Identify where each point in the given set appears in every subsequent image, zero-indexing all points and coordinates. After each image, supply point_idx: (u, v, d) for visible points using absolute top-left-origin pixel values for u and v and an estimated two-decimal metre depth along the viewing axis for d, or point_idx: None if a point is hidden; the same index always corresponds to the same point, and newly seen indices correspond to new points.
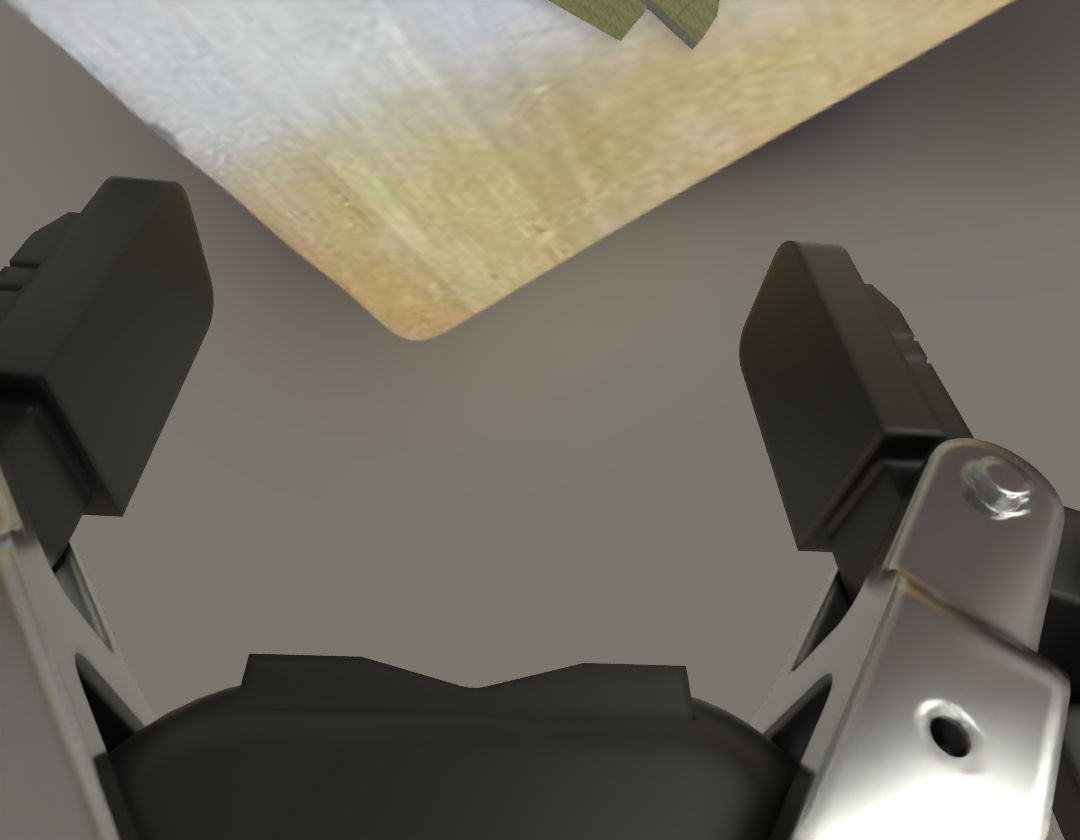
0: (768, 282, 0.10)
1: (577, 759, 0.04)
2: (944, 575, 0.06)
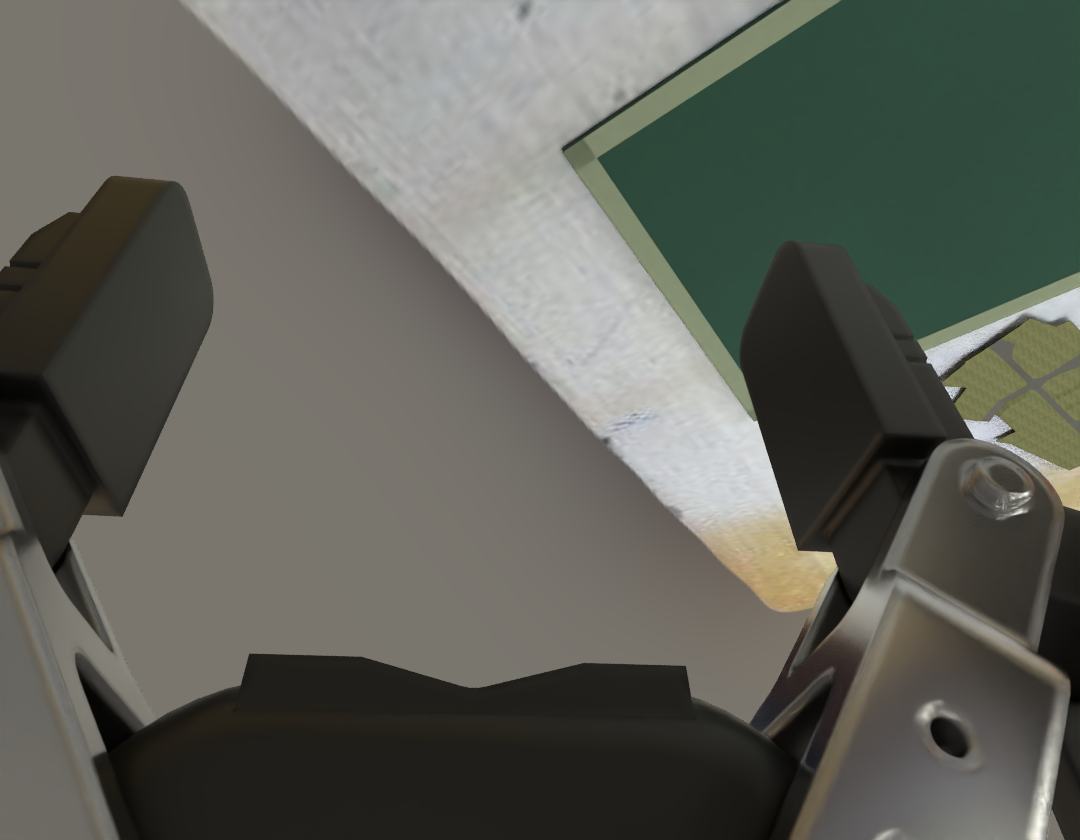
0: (768, 282, 0.10)
1: (577, 759, 0.04)
2: (944, 575, 0.06)
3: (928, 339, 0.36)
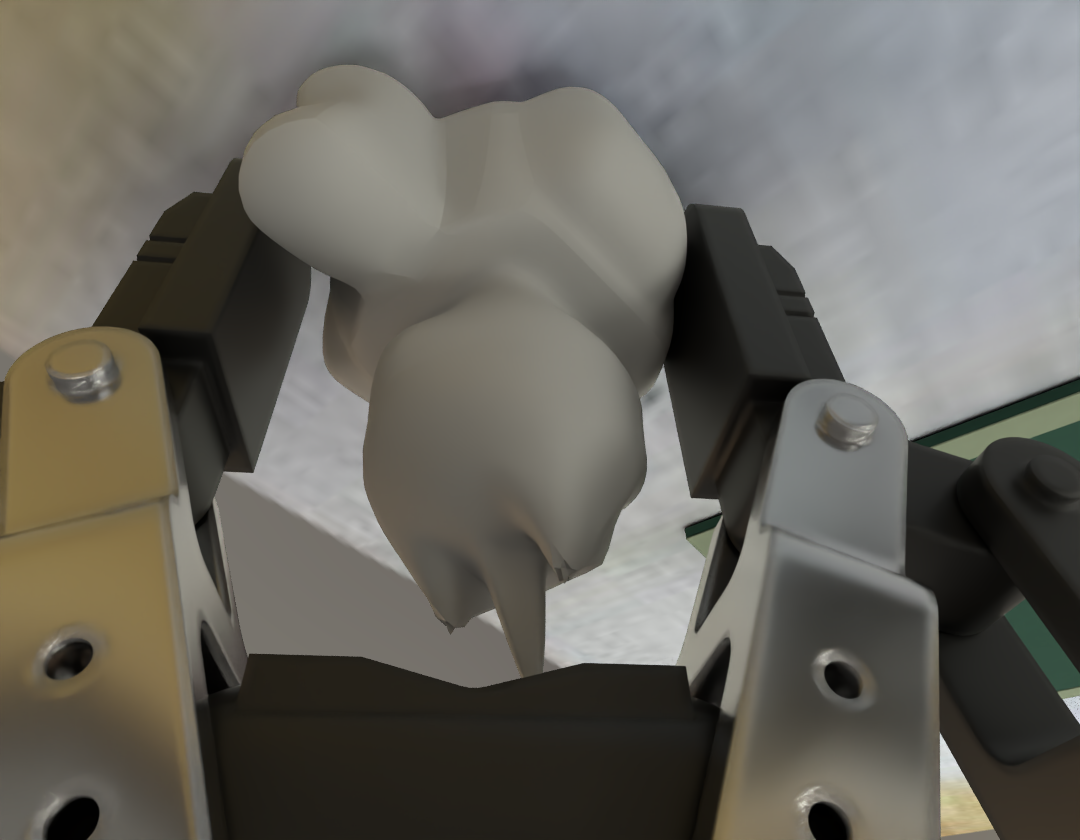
0: None
1: (577, 759, 0.04)
2: (814, 517, 0.06)
3: None
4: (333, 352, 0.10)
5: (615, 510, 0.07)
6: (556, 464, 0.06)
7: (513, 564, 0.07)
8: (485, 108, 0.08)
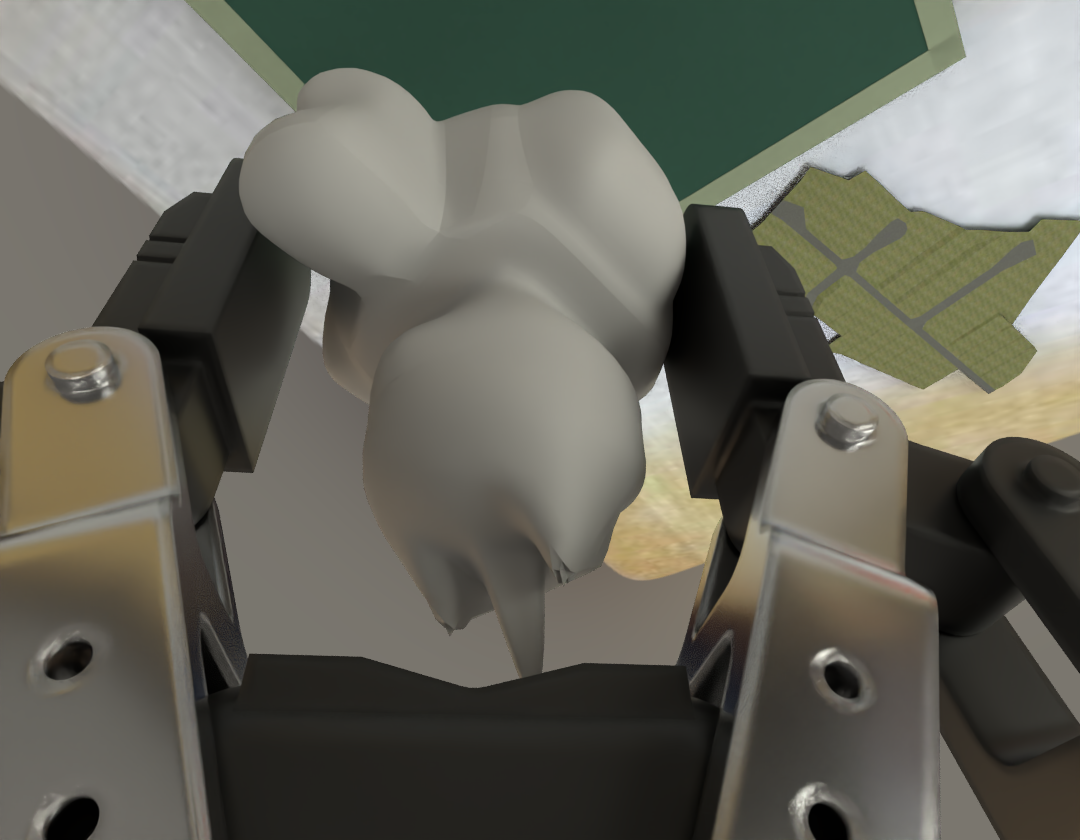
0: None
1: (577, 759, 0.04)
2: (814, 517, 0.06)
3: (689, 201, 0.28)
4: (333, 354, 0.10)
5: (614, 512, 0.07)
6: (555, 467, 0.06)
7: (512, 566, 0.07)
8: (485, 111, 0.09)
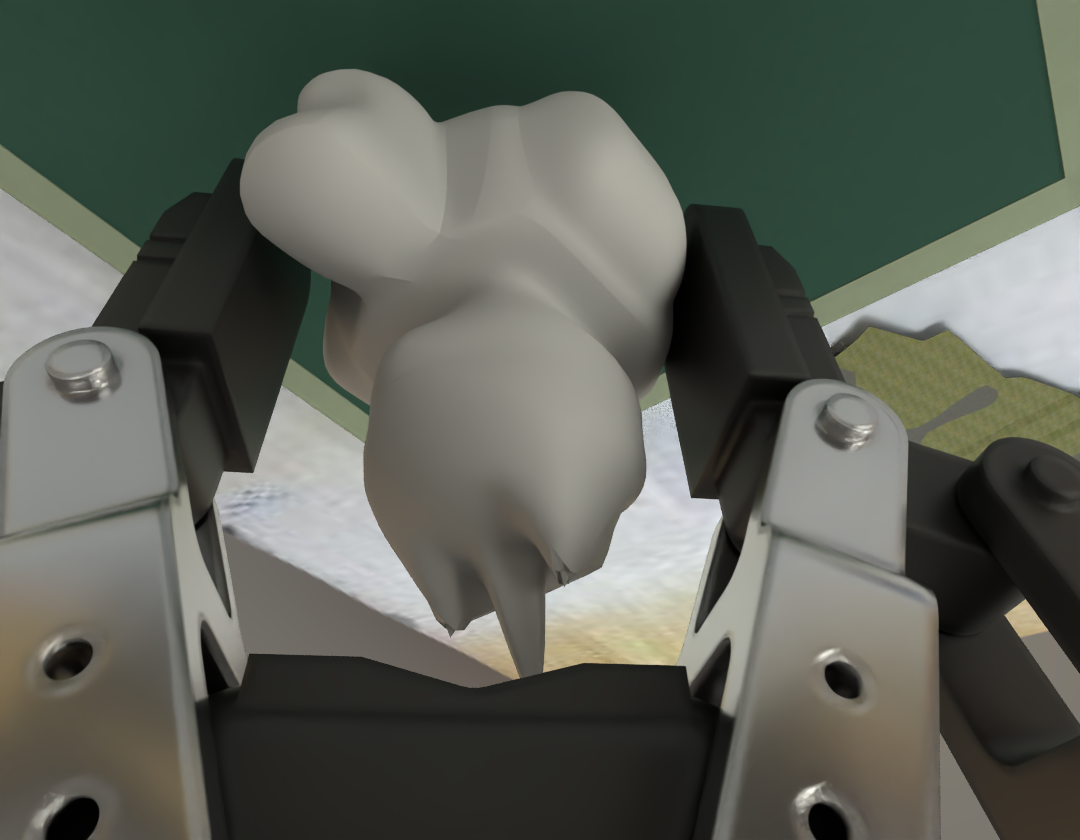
0: None
1: (577, 759, 0.04)
2: (814, 517, 0.06)
3: None
4: (335, 355, 0.10)
5: (615, 513, 0.07)
6: (556, 468, 0.06)
7: (513, 567, 0.07)
8: (485, 112, 0.09)
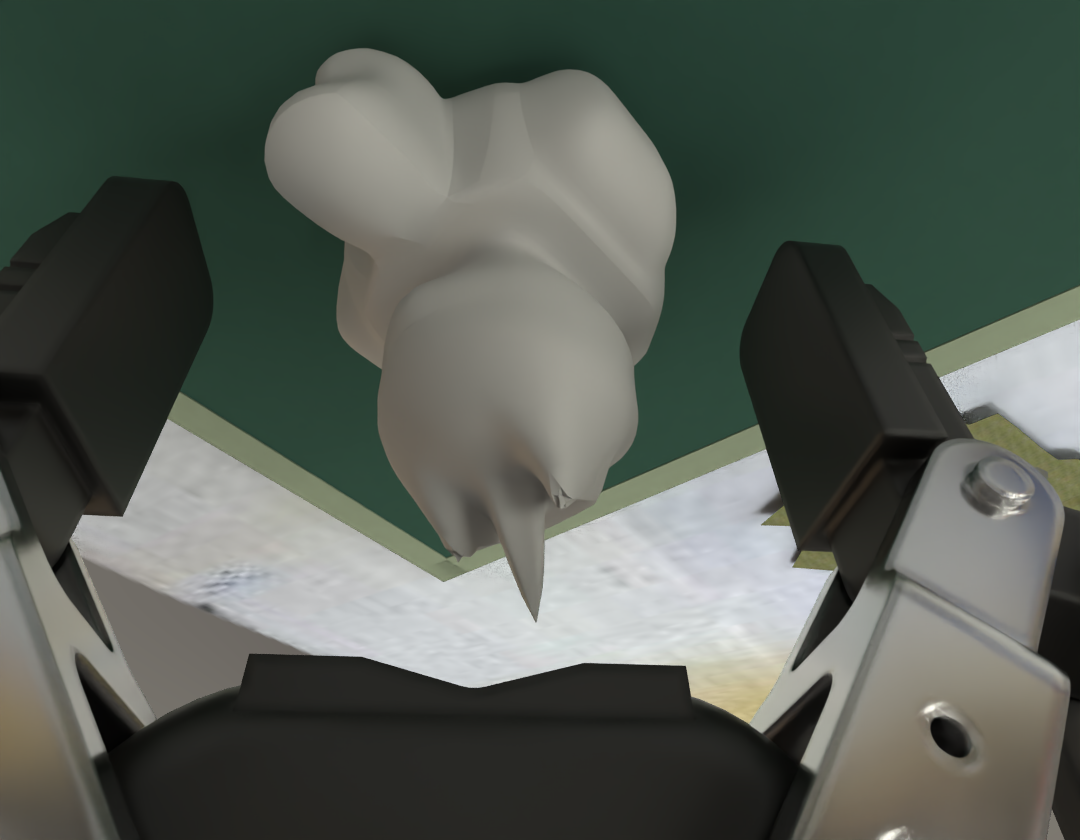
0: (768, 282, 0.10)
1: (576, 759, 0.04)
2: (945, 575, 0.06)
3: (713, 450, 0.18)
4: (348, 319, 0.10)
5: (608, 450, 0.08)
6: (553, 403, 0.07)
7: (515, 497, 0.08)
8: (489, 88, 0.09)
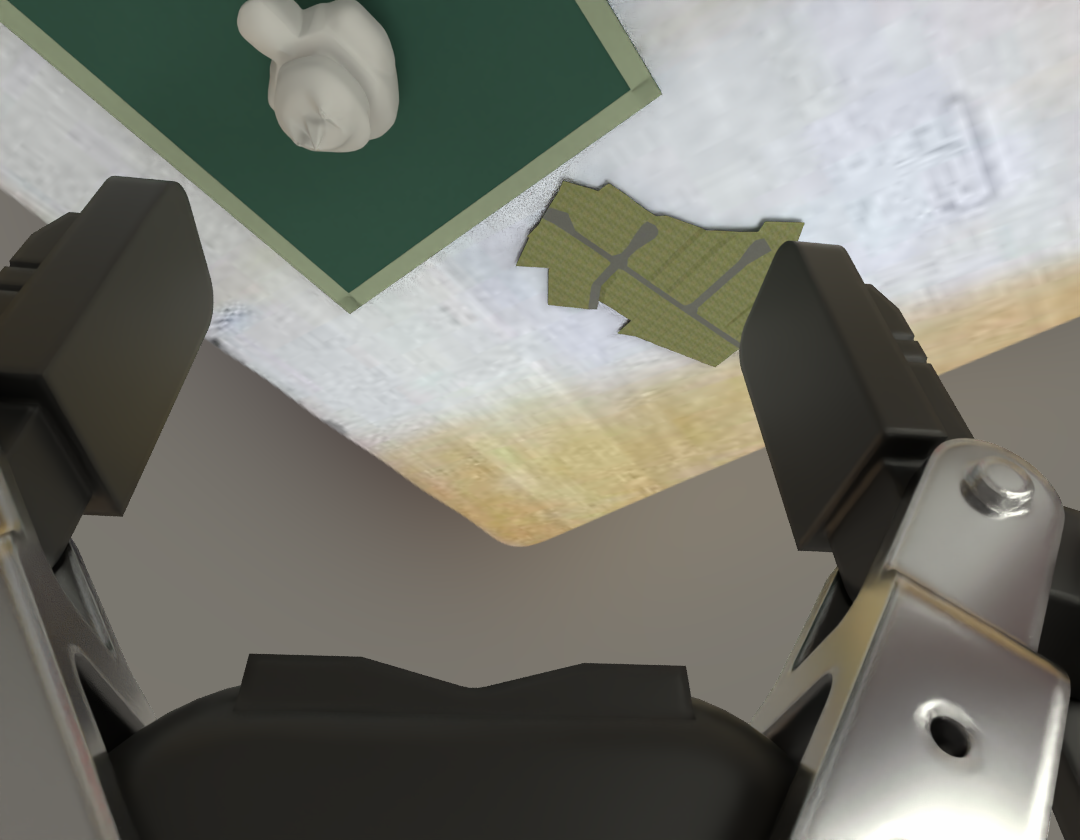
0: (768, 282, 0.10)
1: (577, 759, 0.04)
2: (944, 575, 0.06)
3: (473, 209, 0.35)
4: (271, 94, 0.27)
5: (344, 110, 0.25)
6: (321, 87, 0.24)
7: (313, 120, 0.25)
8: (316, 4, 0.26)
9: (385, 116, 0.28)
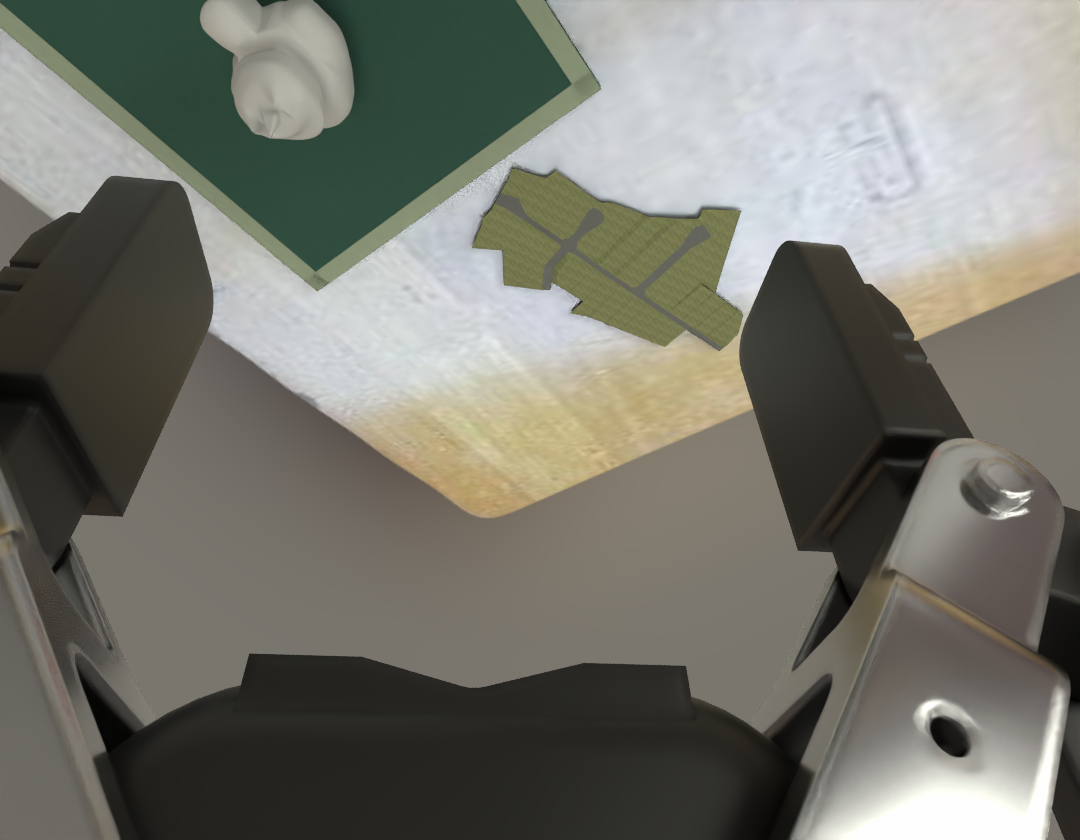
0: (768, 282, 0.10)
1: (577, 759, 0.04)
2: (944, 575, 0.06)
3: (430, 193, 0.37)
4: (233, 85, 0.30)
5: (297, 102, 0.27)
6: (275, 80, 0.27)
7: (268, 111, 0.27)
8: None
9: (340, 106, 0.30)
